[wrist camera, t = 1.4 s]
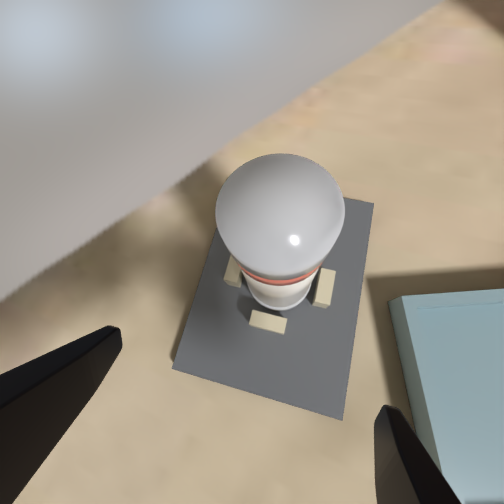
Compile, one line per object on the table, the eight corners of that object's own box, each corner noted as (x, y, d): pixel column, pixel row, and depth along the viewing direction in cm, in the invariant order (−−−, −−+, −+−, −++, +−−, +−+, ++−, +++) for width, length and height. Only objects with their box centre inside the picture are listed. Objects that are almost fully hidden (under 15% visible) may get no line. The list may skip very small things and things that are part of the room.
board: (339, 416, 19) (348, 428, 16) (176, 367, 21) (161, 370, 18) (370, 209, 24) (381, 191, 21) (234, 184, 26) (228, 165, 23)
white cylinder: (313, 309, 20) (355, 263, 9) (250, 313, 21) (216, 274, 9) (305, 249, 22) (333, 147, 11) (247, 254, 22) (214, 160, 11)
